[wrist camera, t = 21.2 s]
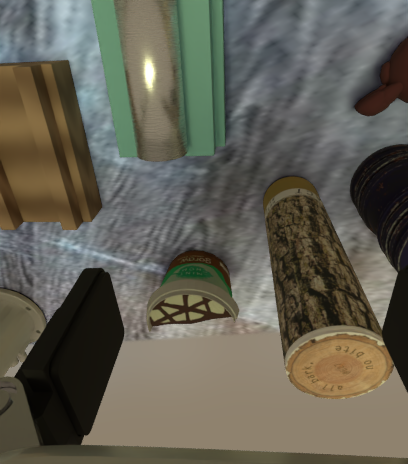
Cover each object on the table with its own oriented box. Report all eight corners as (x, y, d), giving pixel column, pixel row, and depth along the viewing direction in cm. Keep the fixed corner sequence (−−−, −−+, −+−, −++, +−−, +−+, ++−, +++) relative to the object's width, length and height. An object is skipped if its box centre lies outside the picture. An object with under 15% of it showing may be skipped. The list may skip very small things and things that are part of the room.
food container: (230, 237, 47) (228, 284, 39) (239, 271, 50) (239, 322, 42) (147, 250, 50) (129, 297, 41) (160, 282, 53) (145, 332, 44)
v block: (225, 138, 40) (223, 155, 35) (126, 140, 41) (111, 157, 36) (223, -7, 33) (220, -12, 28) (103, 1, 34) (79, -2, 29)
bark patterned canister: (282, 231, 46) (321, 410, 25) (251, 196, 44) (264, 360, 22) (327, 202, 43) (413, 376, 22) (296, 163, 41) (360, 315, 20)
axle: (187, 144, 36) (187, 159, 32) (140, 146, 36) (133, 162, 32) (175, -20, 29) (173, -29, 24) (116, -17, 29) (103, -25, 24)
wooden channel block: (102, 207, 46) (85, 229, 41) (19, 207, 48) (-7, 229, 42) (68, 60, 37) (41, 66, 32) (-34, 65, 38) (-76, 71, 33)
